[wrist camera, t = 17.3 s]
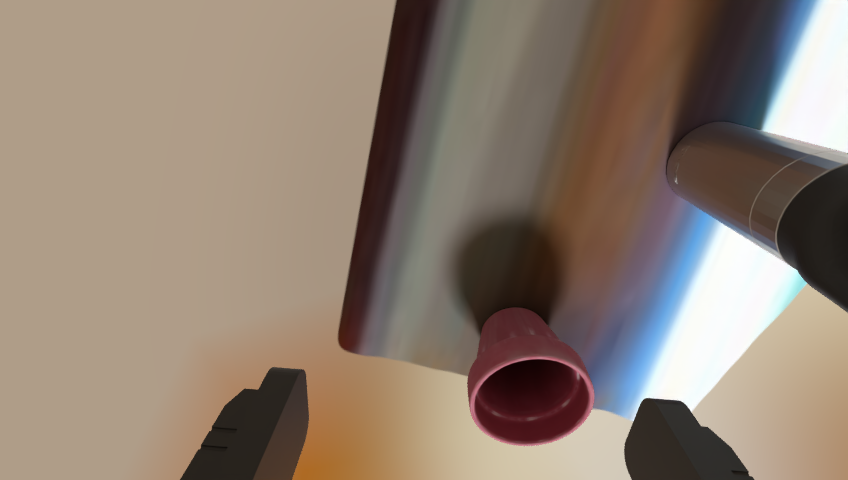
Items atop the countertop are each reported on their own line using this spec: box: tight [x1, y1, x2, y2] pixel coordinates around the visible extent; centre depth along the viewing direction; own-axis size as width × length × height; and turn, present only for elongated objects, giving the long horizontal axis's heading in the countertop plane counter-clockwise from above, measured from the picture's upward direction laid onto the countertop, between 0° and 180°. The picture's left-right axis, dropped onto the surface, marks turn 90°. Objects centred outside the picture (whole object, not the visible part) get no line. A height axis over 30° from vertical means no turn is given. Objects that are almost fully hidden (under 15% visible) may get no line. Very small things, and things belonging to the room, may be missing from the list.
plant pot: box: [467, 307, 594, 446], centre depth 52 cm, size 14×14×13 cm
